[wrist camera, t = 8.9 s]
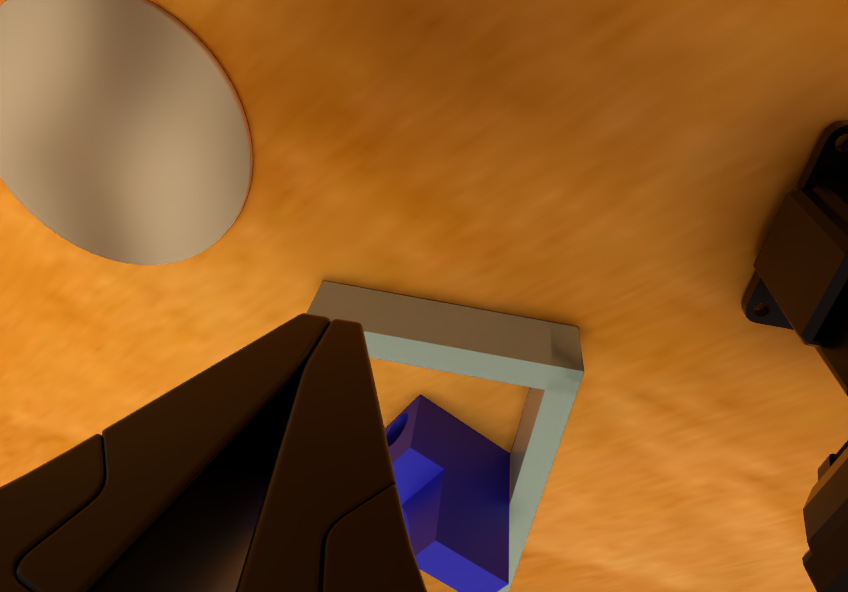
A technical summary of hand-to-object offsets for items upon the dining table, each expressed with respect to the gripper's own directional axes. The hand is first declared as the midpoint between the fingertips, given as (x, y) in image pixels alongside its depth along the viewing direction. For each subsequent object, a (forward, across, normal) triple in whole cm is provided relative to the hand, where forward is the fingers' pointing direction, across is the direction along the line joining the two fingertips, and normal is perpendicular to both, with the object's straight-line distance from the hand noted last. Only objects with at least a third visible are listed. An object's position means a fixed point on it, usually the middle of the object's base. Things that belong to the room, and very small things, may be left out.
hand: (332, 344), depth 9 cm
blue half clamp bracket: (+12, 0, +17) cm, 21 cm away
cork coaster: (+12, +10, +2) cm, 16 cm away
